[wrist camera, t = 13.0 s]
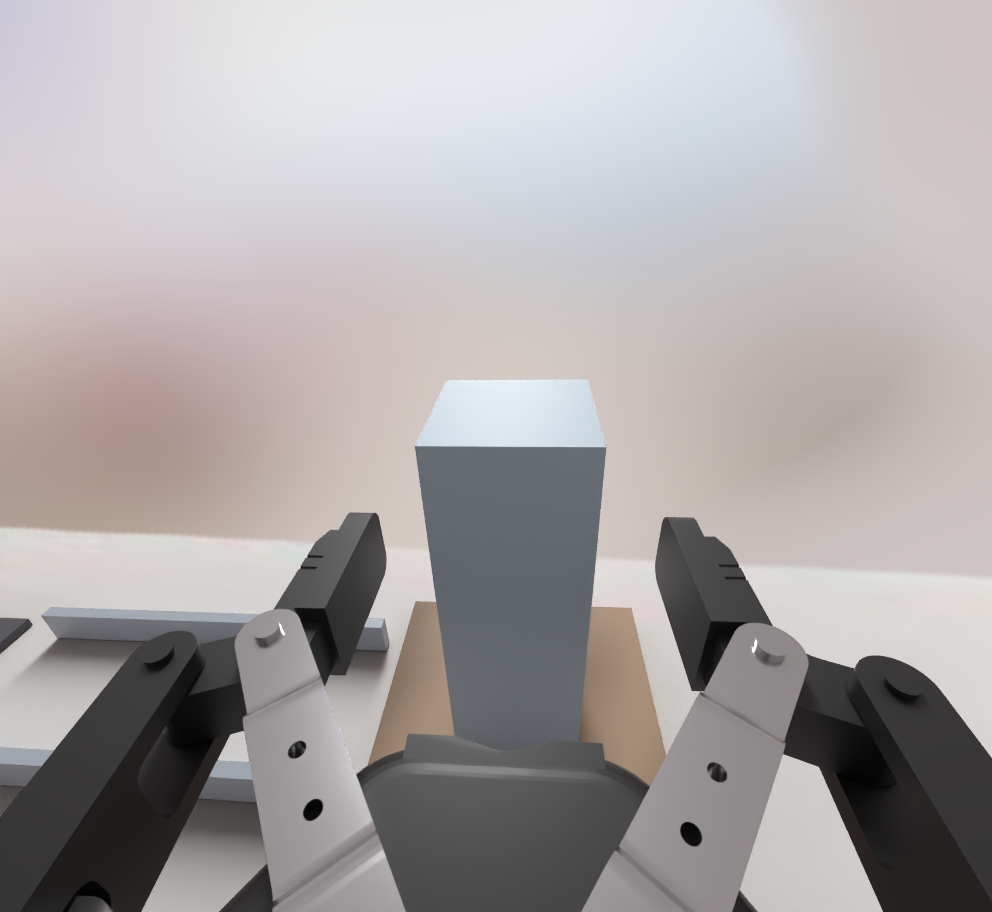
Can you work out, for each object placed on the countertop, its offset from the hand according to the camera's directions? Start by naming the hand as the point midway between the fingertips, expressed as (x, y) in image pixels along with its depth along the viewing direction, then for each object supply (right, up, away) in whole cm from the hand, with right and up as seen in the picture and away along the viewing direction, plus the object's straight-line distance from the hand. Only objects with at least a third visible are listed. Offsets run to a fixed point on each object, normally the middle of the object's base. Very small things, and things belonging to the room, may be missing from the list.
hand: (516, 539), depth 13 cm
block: (0, -7, +4) cm, 8 cm away
